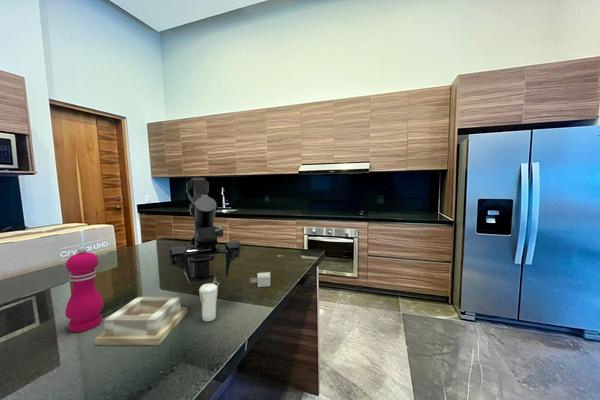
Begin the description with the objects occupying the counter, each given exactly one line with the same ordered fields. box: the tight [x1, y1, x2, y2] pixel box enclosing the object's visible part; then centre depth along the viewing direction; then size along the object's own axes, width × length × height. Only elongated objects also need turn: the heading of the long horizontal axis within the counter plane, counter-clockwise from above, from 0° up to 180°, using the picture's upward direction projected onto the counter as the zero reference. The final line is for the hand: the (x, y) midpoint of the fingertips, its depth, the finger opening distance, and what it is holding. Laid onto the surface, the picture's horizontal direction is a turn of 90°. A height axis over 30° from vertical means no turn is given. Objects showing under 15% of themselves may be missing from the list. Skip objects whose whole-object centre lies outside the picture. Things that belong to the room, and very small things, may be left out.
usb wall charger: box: [249, 272, 271, 288], centre depth 87 cm, size 4×7×4 cm, turn 99°
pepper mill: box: [64, 246, 104, 333], centre depth 62 cm, size 7×7×20 cm
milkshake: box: [198, 282, 220, 322], centre depth 65 cm, size 5×5×10 cm
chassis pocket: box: [94, 296, 188, 346], centre depth 62 cm, size 14×14×5 cm
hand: (209, 280), depth 67 cm, fingers open, 9 cm apart
